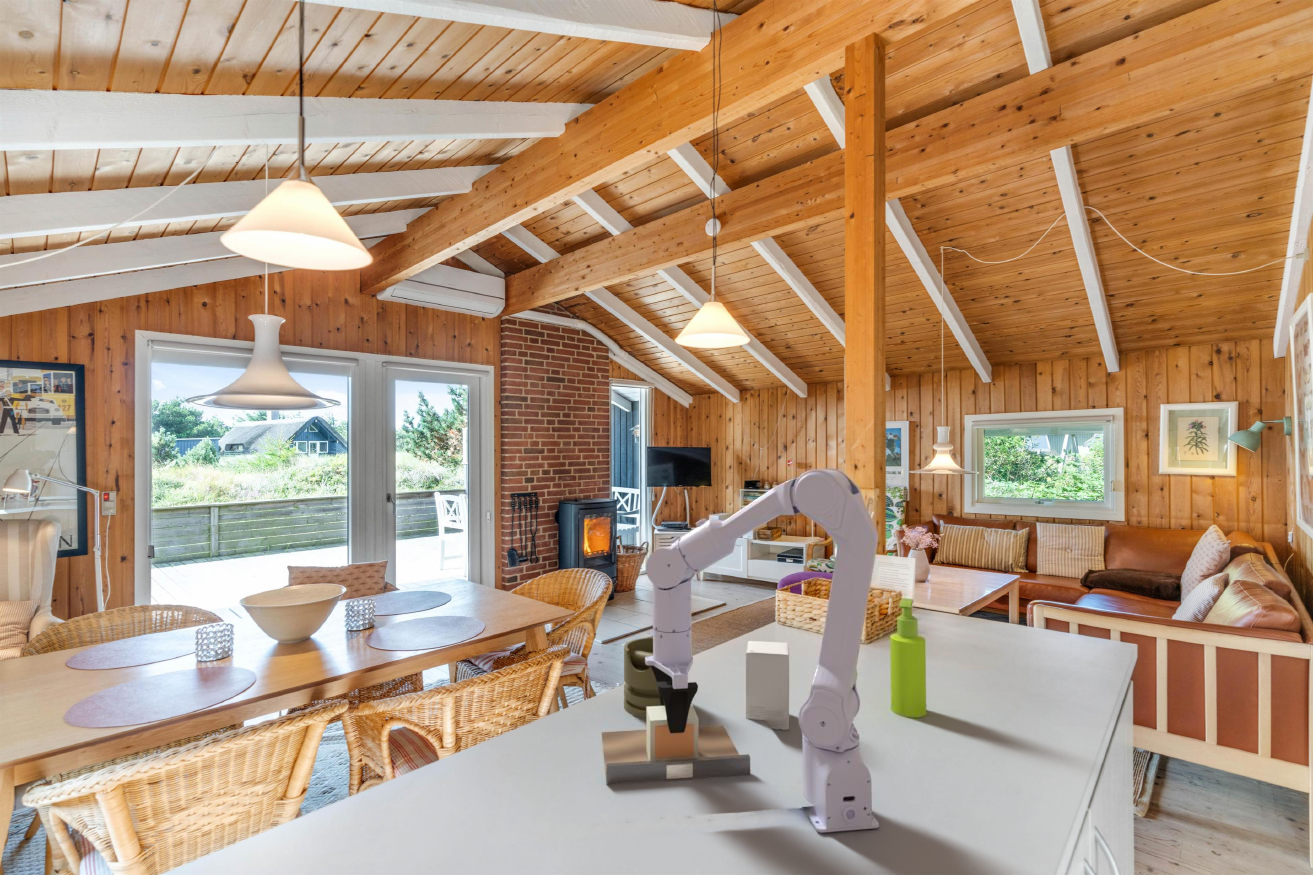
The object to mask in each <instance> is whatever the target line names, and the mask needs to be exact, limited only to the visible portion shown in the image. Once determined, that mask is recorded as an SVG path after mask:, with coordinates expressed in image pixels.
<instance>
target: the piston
mask: <svg viewBox="0 0 1313 875" xmlns="http://www.w3.org/2000/svg"><path fill="white" fill-rule="evenodd" d="M650 656H653V636H650V637H649V636H647V637H640V638H635V639H632V640H630V641H627V642H625V644H624V645H623V681H624V683H625V684H624V685H623V708H624V711H625V712H627V713H628V714H629V715H631V716H633V717H637V718H641V719H644V720H645V719H646V707H650V706H661V704H660V698H659V692H658V686H657V682H656V678H655V675H654V673H653V670H652V669H651V667H650V665H646V663H645V657H650Z"/></svg>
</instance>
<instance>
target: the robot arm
mask: <svg viewBox="0 0 1313 875" xmlns="http://www.w3.org/2000/svg"><path fill="white" fill-rule="evenodd" d="M799 514H802V515H803V516H805V517H807V519H809V520H811V521H813V522H814V523H815V524H817V525H818V526H820V527H822V528H823V530H824V531H825V532H826V534H827V535H828V536H829V537H830V538H831V539H832V541H833V542H834V544H836V548H837V549H836V555H835V560H834V561H835V562H834V566H833V573H832V579H831V585H830V589H829V590H830V592H829V596H828V597H829V598H828V602H827V609H826V616H825V621H824V627H823V632H822V638H821V643H820V644H821V645H820V650H819V651H820V652H819V656H818V663H817V666H816V670H815V672H814V676H813V678H812V682H811V686H810V691H809V694H808V697H807V698H806V700H805V701H804V702H803V703H802V705H801V707H800V709H799V712H798V725H799V728H800V730H801V734H802V740H801V742H802V745H801V746H802V795H803V797H804V799H805V800H806V801H807V802H808V803H809V804H810V805H808V806H801V808H802V810H803V811H804V813H805V815H806V817H807V818H808V820H809V821H810V823H811V824H812V826H813V827H814V828H815V830H816V832H818V833H821V834H822V833H834V832H846V831H857V830H859V831H860V830H868V829H871V830H872V829H878V828H879V827H880V823H879V821H878V820H877V819H876V818H875V817H874V815H873V809H872V808H873V802H872V798H873V797H872V796H873V793H872V790H873V789H872V784H873V783H872V776H871V773H870V771H869V769H868V767H867V766H866V764H865V762H864V761H863V759H862V756H861V752H860V751H861V750H860V734H859V733H858V730H857V728H856V726H855V723H854V720H855V718H856V716H857V714H858V713H859V710H860V708H861V698H860V694H859V693H858V687H857V679H858V670H857V669H858V668H857V667H858V666H857V665H858V660H859V654H860V648H861V642H862V637H863V630H864V625H865V619H866V612H867V607H868V601H869V595H870V590H871V589H870V588H871V584H872V578H873V577H872V576H873V571H874V566H875V561H876V555H877V554H876V553H877V548H878V542H879V532H878V530H877V528H876V525H875V523H874V521H873V519H872V517H871V514H870V511H869V510H868V508H867V506H866V504H865V501H864V499H863V496H862V490H861V489H860V487H859V486H858V485H857V484H856V483H855V482H854V481H853V480H852V479H851V478H850V476H848V475H847V474H846V473H844V471H841V470H840V469H836V468H824V469H811V470H807V471H805V472H803V473H802V474H801V475H799V477H795V478H792V479H789V480H787V481H784V482H782V483H780V484H779V485H776V486H775V487H772V488H771V489H769V490H768V491H767V492H765V493H763V494H762V495H761V496H759V497H758V498H756V499H755V500H753V501H752V502H751V503H749V504H747V505H746V506H744V507H743V508H741V509H740V510H739V511H737V512H735V513H734V514H732V515H731V516H729V517H727V518H725V520H722V519H721V520H720V519H717V518H714V517H713V518H709V519H708V520H707V518H701V519H699V520H698V521H696V522H695V526H696V527H695V528H694V529H693V528H692V530H690V531H689V532H687V533H686V534H684V535H682V536H679V535H678V536H675V537H673V538H671V539H670V541H671V545H669V546H665V547H657V548H656V549H655V550H654V552H652V553H651V554H650V555H649V556H648V558H647V560H646V565H645V571H646V575H647V578H648V580H649V581H650V582H651V584H652V637H653V656H650V657H645V663H646V665H650V667H651V669H652V670H653V673H654V675H655V678H656V682H657V686H658V692H659V698H660V704H661V706H665V710H666V717H667V723H668V728H669V731H670V733H684V732H685V728H686V724H687V719H688V713H689V709H690V706H691V704H692V702H693V700H694V697H695V696H696V694H697V693H698V690H699V685H698V683H697V682H696V681H694V682H692V681H691V682H690V681H689V676H688V675H689V672H690V670H691V669H692V666H693V664H694V656H692V655H693V654H692V652H693V651H692V650H693V647H692V645H693V644H692V643H693V642H692V634H693V633H692V632H693V631H692V580H693V578H694V577H695V576H696V574H699V573H701V572H702V571H704V570H706V569H707V568H710V567H711V566H713V565H714V564H716V563H717V562H720V561H721V560H723V559H724V558H726V557H728V556H729V555H731V554H733V553H734V550H735V545H736V542H737V540H738V539H740V538H741V537H743V536H745V535H747V534H749V533H751V532H753V531H754V530H756V529H758V528H760V527H761V526H763V525H765V524H766V523H768V522H770V521H772V520H774V519H776V518H777V517H779V516H795V515H799ZM688 681H689V682H688Z"/></svg>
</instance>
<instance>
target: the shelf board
mask: <svg viewBox="0 0 1313 875" xmlns="http://www.w3.org/2000/svg"><path fill="white" fill-rule="evenodd" d="M601 740H602V752H603V761H604V772H605V775H606V764H607V763H623V762H638V761H649V759H648V755H647V750H646V729H634V730H621V731H620V730H618V731H603V732H601ZM732 755H740V753H739V752H738V749H737V748H736V746H735V744H734V743H733V741H732V739H731V736H730V735H729V733H728V731H727V730H726V728H725V725H721V724H720V725H707V726H706V725H705V726H698V758H701V757H716V756H732ZM738 776H739V777H740V776H744V775H738ZM738 776H737V777H738ZM728 777H729V776H723V777H722V778H728ZM712 778H713V779H714V778H715V777H708V778H707V779H712ZM695 779H696V780H698V779H700V778H694V779H693V780H695ZM683 780H686V779H679V780H678V781H683ZM665 781H671V780H665ZM665 781H664V782H665ZM653 782H654V783H655V782H657V781H650V782H649V783H653ZM637 783H642V782H636V783H635V784H637ZM623 784H628V783H621V784H620V785H623ZM605 785H606V786H608V785H609V786H612V785H613V784H605Z"/></svg>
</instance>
